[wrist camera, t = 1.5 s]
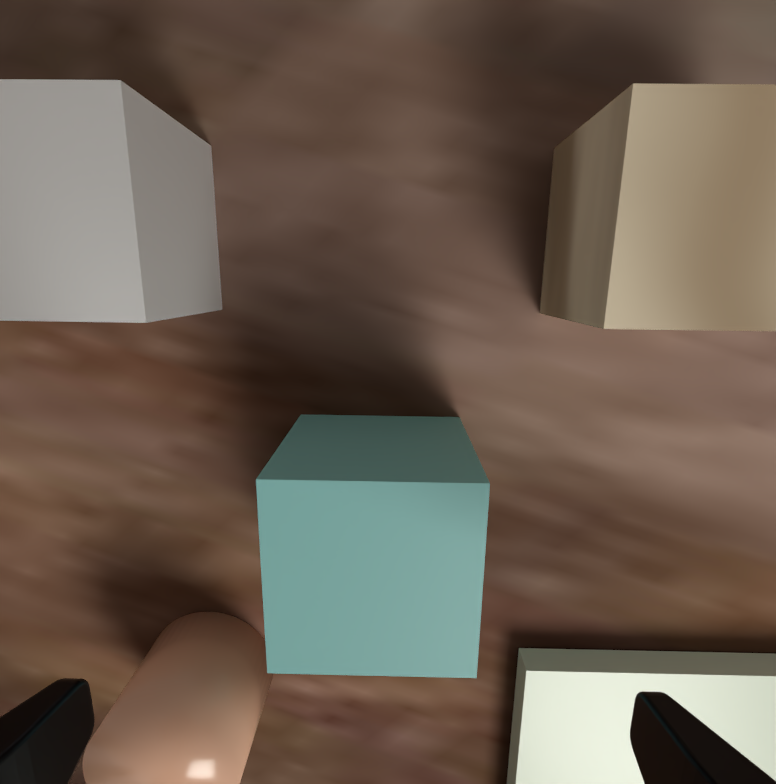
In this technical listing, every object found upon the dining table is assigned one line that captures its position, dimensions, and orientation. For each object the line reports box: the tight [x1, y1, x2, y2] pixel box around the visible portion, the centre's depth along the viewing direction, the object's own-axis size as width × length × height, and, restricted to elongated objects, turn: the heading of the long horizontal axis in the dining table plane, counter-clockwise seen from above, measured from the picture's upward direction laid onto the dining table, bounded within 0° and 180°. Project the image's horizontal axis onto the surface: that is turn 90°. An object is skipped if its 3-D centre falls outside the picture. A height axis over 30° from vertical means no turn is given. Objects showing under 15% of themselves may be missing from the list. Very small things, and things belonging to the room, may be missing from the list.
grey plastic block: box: [0, 79, 222, 323], centre depth 12 cm, size 4×4×4 cm
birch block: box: [540, 83, 776, 331], centre depth 11 cm, size 4×4×4 cm
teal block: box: [256, 414, 490, 678], centre depth 13 cm, size 5×5×5 cm
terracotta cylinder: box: [82, 612, 273, 784], centre depth 15 cm, size 4×4×4 cm
